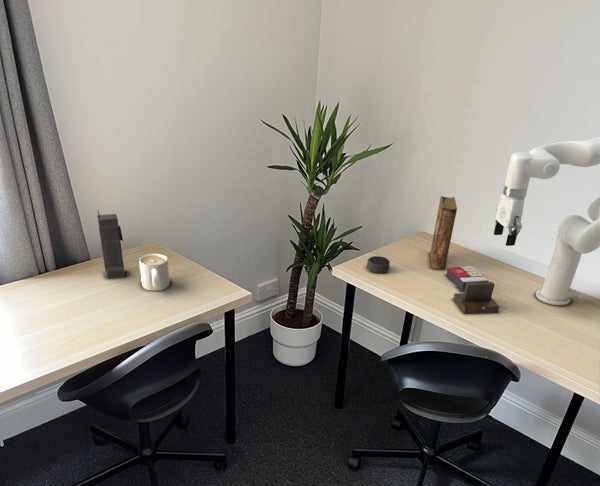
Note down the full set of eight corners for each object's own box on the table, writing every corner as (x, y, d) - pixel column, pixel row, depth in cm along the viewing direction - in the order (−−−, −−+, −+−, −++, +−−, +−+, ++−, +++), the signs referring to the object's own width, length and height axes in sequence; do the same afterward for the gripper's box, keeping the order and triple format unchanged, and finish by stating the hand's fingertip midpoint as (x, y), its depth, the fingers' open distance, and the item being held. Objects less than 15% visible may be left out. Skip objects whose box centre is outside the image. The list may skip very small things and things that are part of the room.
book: (444, 270, 248) (457, 210, 233) (431, 269, 248) (442, 208, 233) (443, 254, 261) (454, 196, 246) (430, 253, 261) (441, 195, 246)
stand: (485, 296, 231) (487, 290, 229) (501, 314, 220) (502, 308, 218) (450, 297, 228) (451, 291, 227) (463, 315, 217) (465, 309, 216)
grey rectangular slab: (464, 301, 221) (468, 284, 217) (462, 298, 223) (466, 281, 218) (490, 300, 222) (494, 283, 218) (488, 298, 224) (492, 281, 220)
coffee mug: (144, 278, 229) (141, 253, 223) (171, 279, 229) (168, 254, 223) (138, 294, 218) (135, 268, 212) (166, 295, 219) (163, 269, 213)
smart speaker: (362, 269, 245) (363, 259, 243) (375, 262, 251) (376, 253, 248) (380, 276, 241) (381, 266, 238) (392, 269, 246) (394, 260, 244)
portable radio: (126, 270, 234) (117, 205, 218) (128, 276, 229) (119, 211, 214) (105, 271, 231) (95, 207, 216) (106, 278, 227) (96, 213, 212)
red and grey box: (472, 265, 244) (490, 279, 232) (470, 275, 247) (487, 290, 235) (447, 266, 242) (463, 281, 230) (445, 276, 245) (461, 291, 233)
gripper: (493, 184, 212) (483, 231, 222) (516, 200, 198) (504, 250, 209) (513, 183, 213) (502, 230, 223) (537, 199, 199) (524, 249, 210)
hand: (503, 239), depth 216 cm, fingers open, 9 cm apart
